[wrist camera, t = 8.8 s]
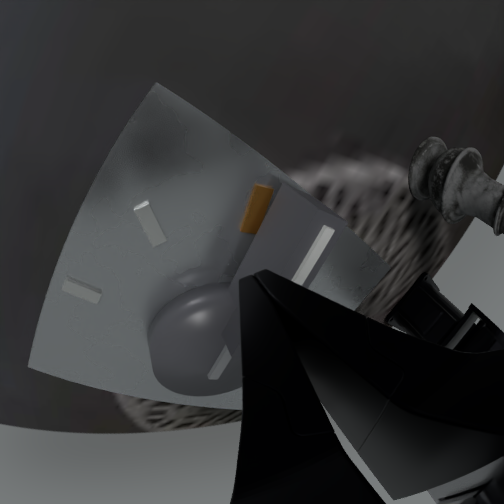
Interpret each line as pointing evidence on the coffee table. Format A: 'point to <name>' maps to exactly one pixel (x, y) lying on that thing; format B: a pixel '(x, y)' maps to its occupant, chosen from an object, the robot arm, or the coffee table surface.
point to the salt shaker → (456, 183)
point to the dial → (227, 298)
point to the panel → (166, 247)
